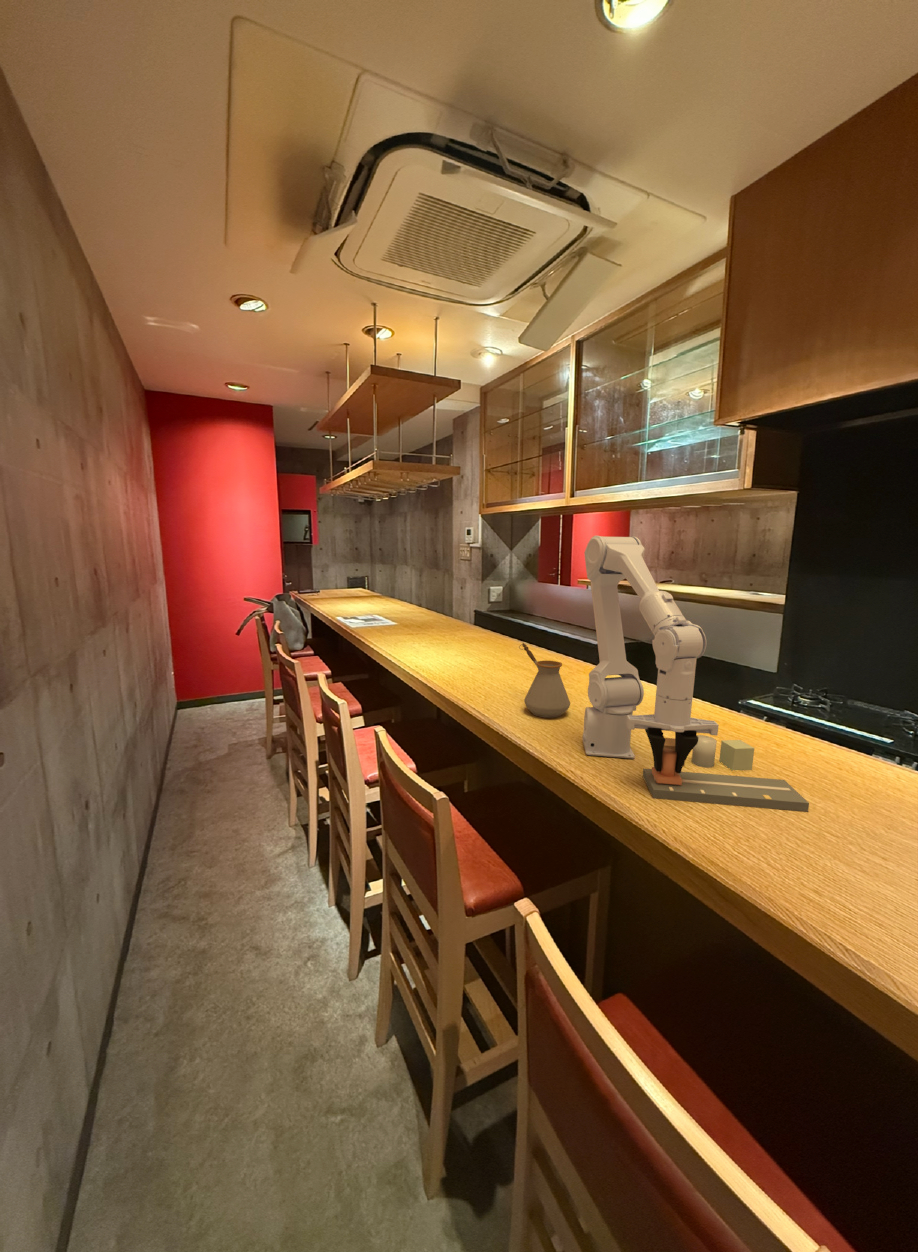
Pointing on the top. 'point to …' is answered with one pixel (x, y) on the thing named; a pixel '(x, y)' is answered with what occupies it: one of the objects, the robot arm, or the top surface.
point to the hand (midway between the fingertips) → (667, 769)
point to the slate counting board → (729, 791)
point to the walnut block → (670, 744)
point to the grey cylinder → (704, 752)
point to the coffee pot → (546, 689)
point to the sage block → (736, 754)
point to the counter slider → (668, 769)
